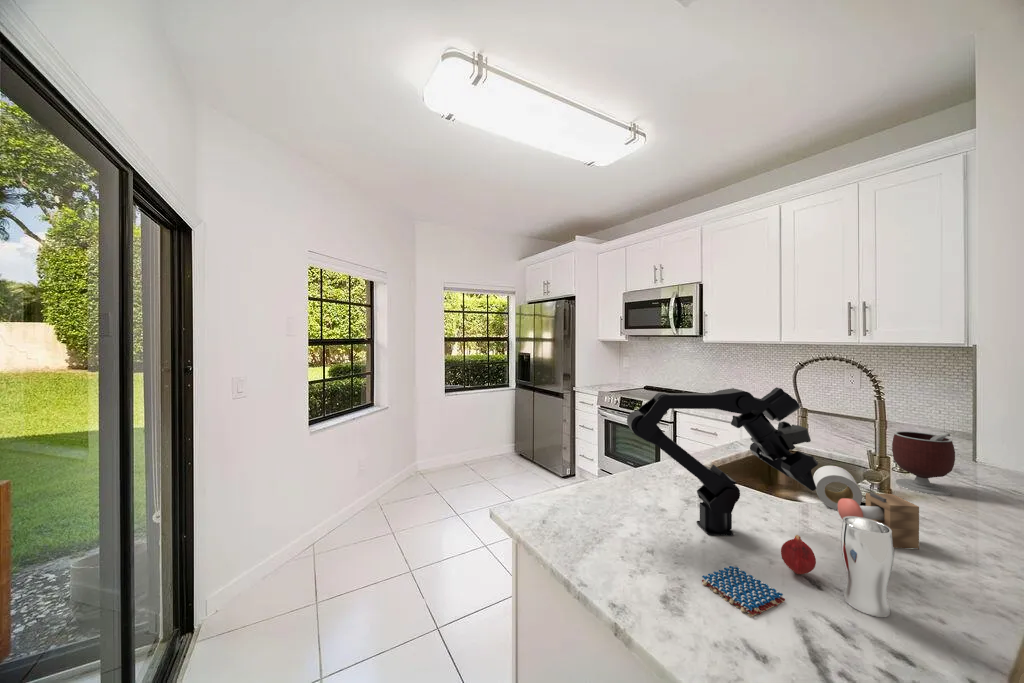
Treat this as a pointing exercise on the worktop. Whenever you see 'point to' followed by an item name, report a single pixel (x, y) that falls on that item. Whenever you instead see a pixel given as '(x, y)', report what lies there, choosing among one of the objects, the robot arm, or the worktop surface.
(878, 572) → the beer glass
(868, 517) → the knob
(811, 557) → the onion
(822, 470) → the toilet paper
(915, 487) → the mate gourd
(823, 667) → the worktop surface
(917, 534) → the catch block
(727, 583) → the woven mat
